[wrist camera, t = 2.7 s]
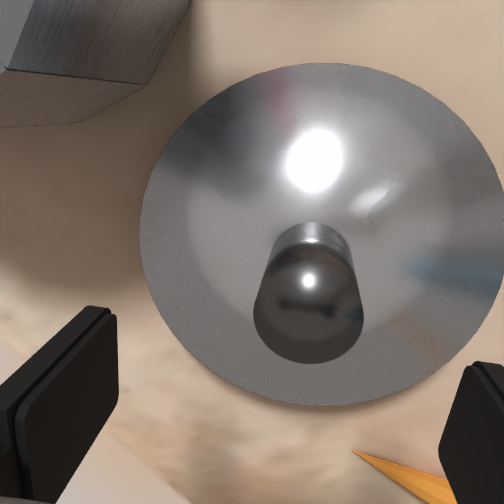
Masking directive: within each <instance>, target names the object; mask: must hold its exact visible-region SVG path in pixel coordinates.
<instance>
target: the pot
mask: <svg viewBox="0 0 504 504" xmlns="http://www.w3.org/2000/svg"><path fill="white" fill-rule="evenodd" d="M188 1H190V2H191V0H0V128H10V127H23V126H35V125H48V124H61V123H73V122H81V121H82V120H84V119H86V118H88V117H90V116H91V115H93V114H95V113H97V112H99V111H100V110H102V109H104V108H106V107H108V106H110V105H111V104H113V103H115V102H117V101H119V100H120V99H122V98H124V97H126V96H128V95H129V94H131V93H133V92H135V91H137V90H139V89H140V88H142V87H144V86H146V85H145V84H147V83H148V81H149V80H150V78H151V76H152V74H153V72H154V70H155V68H156V67H157V65H158V63H159V61H160V59H161V57H162V55H163V53H164V52H165V50H166V48H167V46H168V44H169V42H170V40H171V39H172V37H173V35H174V33H175V31H176V29H177V27H178V26H179V24H180V22H181V20H182V18H183V16H184V14H185V12H186V11H187V9H188V7H189V5H190V2H188Z"/></svg>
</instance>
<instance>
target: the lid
mask: <svg viewBox="0 0 504 504" xmlns="http://www.w3.org/2000/svg"><path fill="white" fill-rule="evenodd" d="M139 243H140V254H141V262H142V266H143V270H144V275H145V279H146V282H147V285H148V288H149V290H150V293H151V296H152V299H153V301H154V303H155V305H156V307H157V309H158V310H159V312H160V314H161V316H162V318H163V319H164V321H165V322H166V324H167V325H168V327H169V328H170V330H171V331H172V333H173V334H174V335H175V336H176V338H177V339H178V340H179V341H180V342H181V343H182V345H183V346H184V347H185V348H186V349H187V350H188V351H189V352H190V353H191V354H192V355H193V356H194V357H195V358H196V359H198V360H199V361H200V362H201V363H202V364H204V365H205V366H206V367H208V368H209V369H210V370H212V371H213V372H214V373H216V374H217V375H219V376H221V377H222V378H224V379H226V380H227V381H229V382H231V383H232V384H234V385H237V386H239V387H241V388H243V389H245V390H247V391H250V392H252V393H255V394H258V395H261V396H264V397H267V398H270V399H274V400H278V401H283V402H287V403H293V404H301V405H309V406H337V405H348V404H355V403H360V402H366V401H371V400H375V399H378V398H381V397H384V396H387V395H391V394H394V393H396V392H398V391H400V390H403V389H405V388H407V387H410V386H412V385H414V384H416V383H417V382H419V381H421V380H422V379H424V378H426V377H428V376H429V375H431V374H433V373H434V372H435V371H437V370H438V369H439V368H441V367H442V366H443V365H445V364H446V363H447V362H449V361H450V360H451V359H452V358H453V357H454V356H455V355H456V354H457V353H458V352H459V351H460V350H461V349H462V348H463V347H464V346H465V345H466V344H467V343H468V341H469V340H470V339H471V338H472V337H473V335H474V334H475V333H476V332H477V330H478V329H479V328H480V326H481V324H482V323H483V321H484V319H485V318H486V316H487V315H488V313H489V311H490V310H491V308H492V305H493V303H494V301H495V298H496V296H497V294H498V291H499V289H500V287H501V283H502V279H503V275H504V192H503V188H502V186H501V183H500V180H499V178H498V175H497V172H496V170H495V167H494V165H493V163H492V161H491V160H490V158H489V156H488V154H487V153H486V151H485V149H484V147H483V146H482V144H481V142H480V141H479V140H478V139H477V137H476V136H475V135H474V134H473V132H472V131H471V130H470V129H469V127H468V126H467V125H466V124H465V122H464V121H463V120H462V119H461V118H459V117H458V116H457V115H456V114H455V113H454V112H453V111H452V110H451V109H450V108H449V107H447V106H446V105H445V104H444V103H443V102H441V101H440V100H438V99H437V98H435V97H434V96H432V95H431V94H429V93H428V92H426V91H425V90H423V89H422V88H420V87H418V86H416V85H414V84H412V83H410V82H408V81H405V80H403V79H401V78H399V77H397V76H395V75H391V74H388V73H385V72H381V71H378V70H375V69H371V68H368V67H362V66H355V65H348V64H341V63H307V64H300V65H293V66H286V67H281V68H277V69H274V70H271V71H267V72H264V73H260V74H257V75H254V76H252V77H250V78H248V79H245V80H243V81H241V82H239V83H236V84H234V85H232V86H230V87H229V88H227V89H226V90H224V91H222V92H221V93H219V94H218V95H216V96H214V97H213V98H211V99H210V100H208V101H207V102H206V103H205V104H204V105H203V106H201V107H200V108H199V109H198V110H197V111H195V112H194V113H193V114H192V115H191V116H190V117H189V118H188V119H187V120H186V121H185V122H184V123H183V125H182V126H181V127H180V128H179V129H178V130H177V131H176V132H175V133H174V135H173V136H172V138H171V139H170V141H169V142H168V144H167V145H166V147H165V148H164V150H163V151H162V153H161V154H160V156H159V158H158V160H157V163H156V165H155V167H154V169H153V171H152V173H151V175H150V178H149V181H148V184H147V188H146V191H145V194H144V197H143V203H142V209H141V214H140V229H139Z"/></svg>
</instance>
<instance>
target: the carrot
mask: <svg viewBox="0 0 504 504" xmlns="http://www.w3.org/2000/svg"><path fill="white" fill-rule="evenodd" d="M352 451H353V450H352ZM353 452H354V453H356V454H357V455H359V456H360V457H362V458H363V459H364V460H366V461H367V462H369V463H370V464H372V465H373V466H374V467H376V468H377V469H379V470H380V471H382V472H383V473H384V474H386V475H387V476H389V477H390V478H392V479H393V480H394V481H396V482H397V483H399V484H400V485H402V486H403V487H404V488H406V489H407V490H409V491H410V492H411V493H413V494H414V495H416V496H417V497H419V498H420V499H421V500H423V501H424V502H426V503H427V504H457V502H456V499H455V497H454V494H453V492H452V489H451V487H450V484H449V482H448V480H446V479H443V478H440V477H437V476H433V475H430V474H427V473H424V472H421V471H417V470H414V469H411V468H408V467H405V466H401V465H398V464H395V463H392V462H389V461H385V460H382V459H379V458H376V457H373V456H369V455H366V454H363V453H360V452H357V451H353Z"/></svg>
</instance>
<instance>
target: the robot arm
mask: <svg viewBox="0 0 504 504" xmlns="http://www.w3.org/2000/svg"><path fill="white" fill-rule="evenodd" d="M118 396H119V383H118V344H117V317H116V315H115V314H111V311H110V309H109V308H103V307H96V306H86V307H85V308H84V309H83V310H82V311H81V312H80V313H78V314H77V315H76V316H75V317H74V318H73V319H72V320H71V321H70V322H69V323H68V324H67V325H65V326H64V327H63V328H62V329H61V330H60V331H59V332H58V333H57V334H56V335H55V336H53V337H52V338H51V339H50V340H49V341H48V342H47V343H46V344H45V345H44V346H43V347H42V348H40V349H39V350H38V351H37V352H36V353H35V354H34V355H33V356H32V357H31V358H30V359H29V360H27V361H26V362H25V363H24V364H23V365H22V366H21V367H20V368H19V369H18V370H17V371H15V372H14V374H12V375H11V376H10V377H9V378H8V379H7V380H6V381H5V382H4V383H3V384H1V385H0V504H55V503H56V502H57V500H58V499H59V497H60V495H61V494H62V492H63V491H64V489H65V488H66V486H67V484H68V482H69V481H70V479H71V478H72V476H73V475H74V473H75V471H76V470H77V468H78V467H79V465H80V463H81V462H82V460H83V458H84V457H85V455H86V454H87V452H88V450H89V449H90V447H91V446H92V444H93V442H94V441H95V439H96V437H97V436H98V434H99V432H100V431H101V429H102V428H103V426H104V425H105V423H106V421H107V420H108V418H109V416H110V415H111V413H112V412H113V410H114V408H115V406H116V404H117V401H118ZM438 454H439V459H440V462H441V465H442V467H443V470H444V472H445V475H446V477H447V479H448V482H449V484H450V487H451V489H452V492H453V494H454V497H455V499H456V502H457V504H504V367H503V366H502V365H500V364H494V363H487V362H480V361H476V362H474V363H473V364H472V366H467V367H466V368H465V370H464V372H463V375H462V378H461V381H460V384H459V387H458V390H457V393H456V396H455V399H454V402H453V405H452V408H451V410H450V413H449V416H448V419H447V422H446V425H445V428H444V431H443V434H442V437H441V440H440V443H439V448H438Z"/></svg>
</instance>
